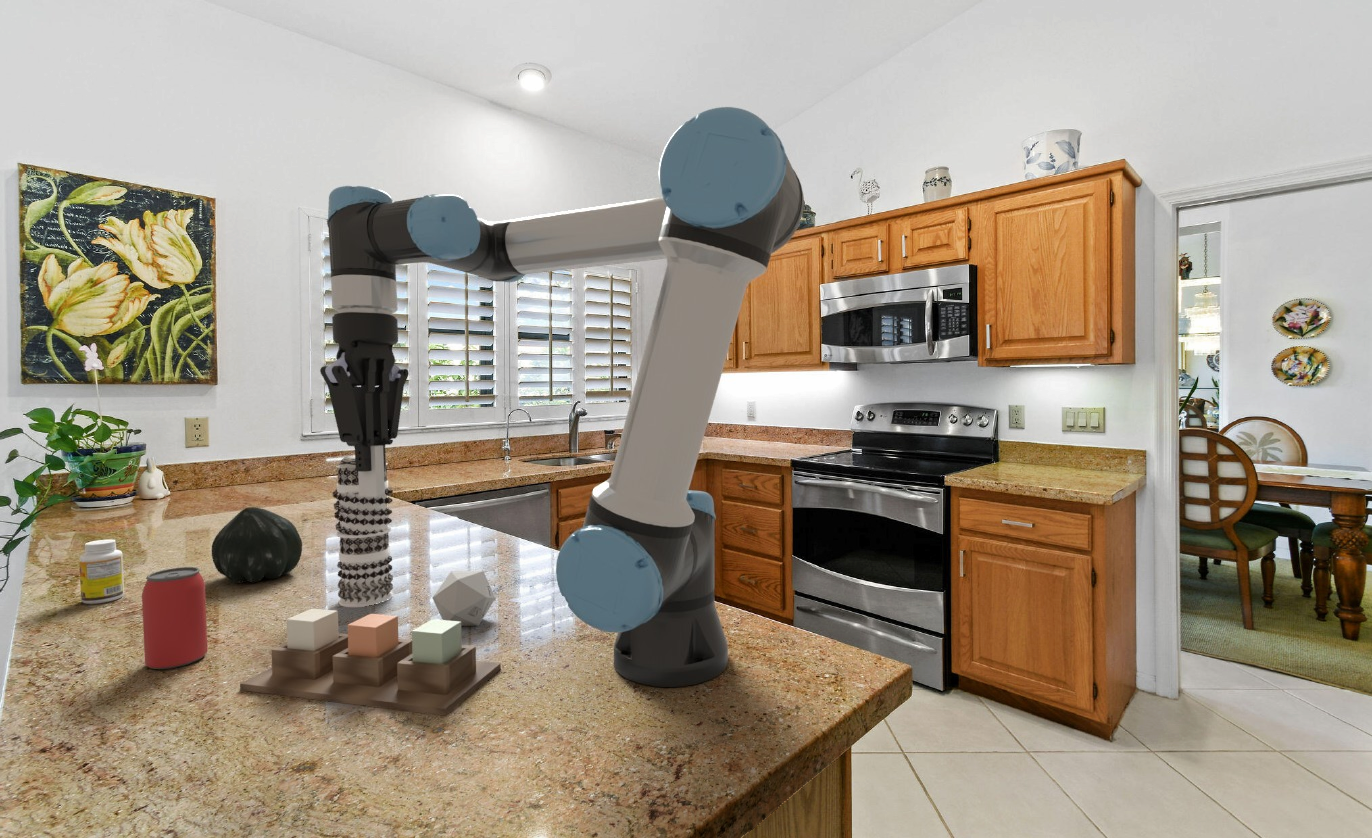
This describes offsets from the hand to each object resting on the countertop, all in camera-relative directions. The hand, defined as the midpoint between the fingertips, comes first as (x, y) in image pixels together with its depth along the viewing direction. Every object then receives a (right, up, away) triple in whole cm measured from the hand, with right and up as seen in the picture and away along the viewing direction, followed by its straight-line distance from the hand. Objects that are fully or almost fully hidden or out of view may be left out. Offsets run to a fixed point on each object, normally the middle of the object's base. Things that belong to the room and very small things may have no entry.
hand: (372, 495), depth 82 cm
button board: (+2, -23, -3) cm, 23 cm away
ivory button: (-7, -19, -1) cm, 20 cm away
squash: (-42, -21, +41) cm, 62 cm away
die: (+6, -22, +16) cm, 28 cm away
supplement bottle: (-61, -22, +28) cm, 70 cm away
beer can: (-27, -23, +3) cm, 36 cm away
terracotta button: (+2, -19, -3) cm, 20 cm away
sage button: (+11, -19, -5) cm, 23 cm away
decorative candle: (-15, -22, +27) cm, 38 cm away
